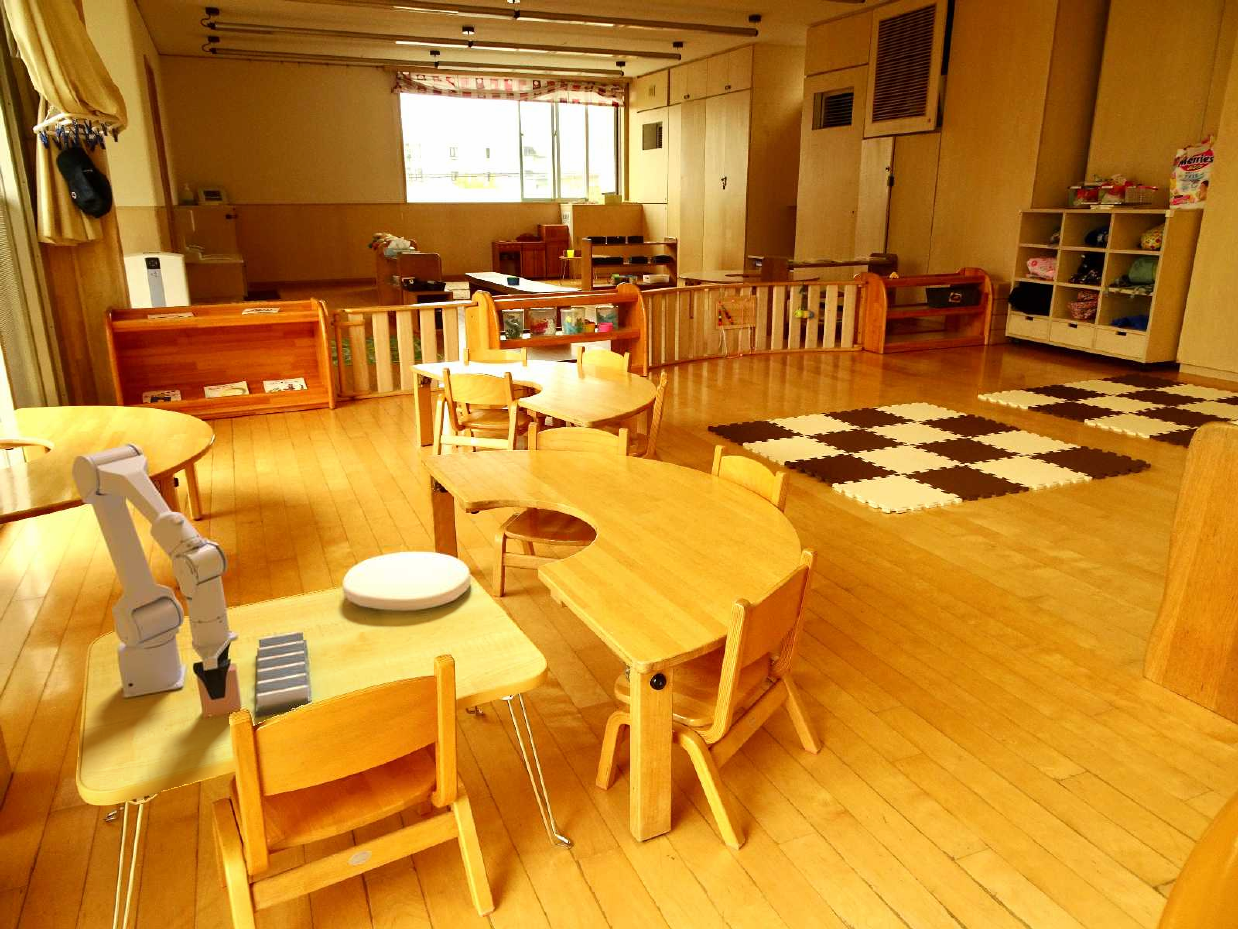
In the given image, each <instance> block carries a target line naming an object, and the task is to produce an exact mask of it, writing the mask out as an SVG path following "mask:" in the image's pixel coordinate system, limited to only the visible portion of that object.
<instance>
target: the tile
mask: <svg viewBox="0 0 1238 929" xmlns="http://www.w3.org/2000/svg"><path fill="white" fill-rule="evenodd" d="M196 680H197V681H196V682H197V686H198V693H199V699H200V705H201V712H202V716H203V717H204V718H207V717H206V716H209V715H214V716H218V715H217V714H219V715H225V714H229V713H234V711H235V712H237V711H236V710H240V709H241V708H242V707H243V706H242V705H243V704H242V695H241V689H240V683H239V682H240V681H239V675H238V669H237V663H236V662H234V663H233V662H232V663H230V667H229V669H228V672H227V675H226V693H225V697H224V698H220V699H215V700H211V698H210V696H209V694H208V692H207V690H206V688H205V685H204V684H203V682H202V681H201V679H200V678H199V677H198V676H197V675H196ZM241 706H242V707H241ZM241 710H242V709H241ZM241 710H240V711H241ZM227 712H228V713H227ZM209 717H210V716H209Z"/></svg>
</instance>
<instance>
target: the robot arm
mask: <svg viewBox="0 0 1238 929" xmlns="http://www.w3.org/2000/svg"><path fill="white" fill-rule="evenodd" d="M149 469H150V468H149V464H148V460H147V458H146V455H145V454H144V451H142V449H141V448H140V447H139V446H137V445H136V444H134V443H127V444H125V445H121V446H118V447H113V448H110V449H106V450H101V451H98V452H93V453H90V454H89V453H88V454H81V455H78V456H76V457H75V459H74V461H73V464H72V468H71V475H72V478H73V480H74V483H75V486H76V489H77V491H78V494H79V496H80V498H81V501H82V503H84V504H89V505H91V506H92V509H93V512H94V515H95V518H96V520H97V522H98V525H99V528H100V531H101V533H102V536H103V538H104V542H105V545H106V548H107V550H108V552H109V553H108V554H109V556H110V558H111V560H112V564H113V567H114V569H115V571H116V574H117V577H118V579H119V582H120V585H121V588H122V591H123V592H122V594H121V596H120V597H119V599H118V600H117V601H116V602H115V603H114V605H113V606H112V609H111V611H112V616H113V621H114V630H115V633H116V636H117V637H118V639H119V640H120V641H121V642H120V643H119V644H118V646H117V663H118V669H119V674H120V675H119V676H120V679H121V686H122V689H123V698H132V697H138V696H143V695H149V694H153V693H160V692H165V691H169V690H177V689H181V688H184V682H185V679H186V678H185V677H186V673H187V672H186V671H187V664H181V659H180V653H179V646H178V641H177V636H176V635H177V634H179V633H180V628H179V627H181V626H183V623H184V619H185V613H184V612H185V611H184V609H183V607H182V604H181V603H180V601H179V600H178V599H177V598H176V596H175V594H174V591H173V589H172V588H171V587H169V586H166V585H162V584H158V583H156V582H155V579H154V576H153V574H152V570H151V568H150V565H149V562H148V560H147V557H146V554H145V552H144V548H143V546H142V542H141V541H140V537H139V534H138V531H137V529H136V527H135V524H134V521H133V518H132V515H131V513H130V509H129V508H128V504H127V502H126V501H128V502H129V503H131V505H132V506H133V507H134V508H135V509H136V510H137V511H138V512H139V513H140V514H141V515H142V516H143V517H144V518H145V519H146V520H147V521H148V522H149V524H151V527H150V532H149V533H150V536H151V537H152V538H153V539H154V540H155V542H156V543H157V545H159V547H160V549H162V550H163V552H164V553H165V554H166V556H167V557H168V558H169V559H170V560H171V562H172V563H173V564H172V567H171V568H172V569H171V570H172V573H173V575H174V578H175V579H176V581H177V582H178V585H179V590H180V592H181V595H183V596H184V597H185V603H186V609H187V616H188V621H189V626H190V632H191V633H190V634H191V638H192V640H191V647H192V648H193V650H194V651H195V652H196V654H197V655H198V656H199V657H200V659H201V661H198V662H193V665H192V671H193V673H194V675H196V677H197V676H198V677H199V678H200V679H201V681H202V682H203V684H204V685H205V688H206V690H207V692H208V694H209V696H210V698H211V700H215V699H220V698H224V697H225V693H226V675H227V672H228V669H229V667H230V664H232V663H231V660H232V658H229V652H230V651H229V650H230V646H231V643H232V642H235V641H238V639H239V635H238V633H239V632H237V631H230V624H229V620H228V613H227V607H226V606H227V605H226V600H225V594H224V587H223V580H222V576H221V575H222V574H225V573H226V571H227V570H228V559H227V557H226V554H225V553H224V551H223V549H222V548H221V546H220V545H219V544H218V543H217V542H214V541H211V540H209V538H207V537H204V538H203V537H202V536H201V534H200V533H198V531H197V530H196V529H195V527H194V526H193V525H192V524H191V522H190V521H189V520H188V519H187V518H186V516H185V515H184V514H183V513H182V512H178V511H177V512H176V511H172V510H171V508H169V506H168V504H167V503H166V500H164V498H163V497H162V495H161V494H160V492H159V491H158V489H157V488H156V486H155V485H154V483H153V482H152V480H151V479H150V477H149V474H150V472H149Z"/></svg>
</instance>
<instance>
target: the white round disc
mask: <svg viewBox="0 0 1238 929" xmlns="http://www.w3.org/2000/svg"><path fill="white" fill-rule="evenodd" d="M469 575H470V576H469ZM471 577H472V575H471V572H470V569H469V567H468V566H467V564H465V562H463V561H462V560H460V559H459V558H457V557H454V556H452V555H448V554H444V553H439V552H431V551H402V552H400V551H399V552H395V553H389V554H382V555H379V556H373V557H371V558H368V559H364V560H363V561H361V562H359V563H357V564H356V565H354V566H353V567H351V568H350V569H349V570H348V571H347V573H346V574H345V575H344V578H343V581H342V593H343V595H344V597H345V598H346V599H347V600H348V601H349V602H352V603H353V604H355V605H357V606H359V607H365V608H371V609H377V610H386V611H418V610H425V609H430V608H434V607H439V606H442V605H446V604H447V603H450V602H452V601H453V602H454V601H455V600H457V599H458V598H459V597H460V596H461V595H463V594H464V593H465V592H466V591H467V590H468V588H469V587H470V586H471Z"/></svg>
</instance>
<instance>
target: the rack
mask: <svg viewBox="0 0 1238 929" xmlns="http://www.w3.org/2000/svg"><path fill="white" fill-rule="evenodd" d="M258 646H259V647H257V648H256V649H257V650H256V685H255V686H256V689H255V690H256V692H255V693H256V695H255V715H256V718H260V717H261V718H262V717H265V716H270V715H274V714H275V715H276V714H281V713H284V712H289V711H288V710H291V709H292V708H297V707H299V706H301V705H306V704H308V703H310V702H312V703H313V698H312V689H311V688H312V687H311V679H310V678H311V677H310V676H311V675H310V665H309V654H308V644H307V639H304V633H303V630H299V631H292V632H287V633H280V634H274V635H269V636H261V637H258ZM291 711H292V710H291Z"/></svg>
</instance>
